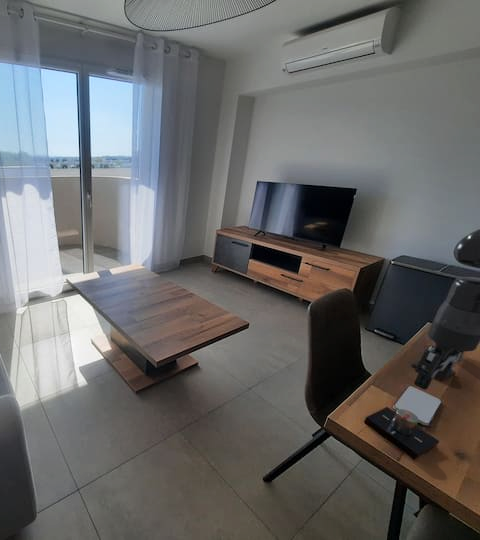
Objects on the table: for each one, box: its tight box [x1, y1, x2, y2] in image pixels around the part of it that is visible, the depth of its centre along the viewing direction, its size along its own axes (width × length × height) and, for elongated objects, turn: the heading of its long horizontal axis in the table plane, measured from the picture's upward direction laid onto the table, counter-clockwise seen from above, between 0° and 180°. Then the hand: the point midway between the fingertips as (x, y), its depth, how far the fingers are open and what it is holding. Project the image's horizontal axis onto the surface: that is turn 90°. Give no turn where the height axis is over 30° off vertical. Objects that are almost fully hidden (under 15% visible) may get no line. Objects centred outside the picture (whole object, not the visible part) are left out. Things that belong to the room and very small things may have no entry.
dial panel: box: [363, 406, 440, 461], centre depth 74 cm, size 11×9×2 cm
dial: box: [391, 409, 419, 435], centre depth 72 cm, size 4×4×5 cm
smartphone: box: [392, 385, 443, 426], centre depth 82 cm, size 7×1×15 cm
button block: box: [411, 360, 457, 382], centre depth 95 cm, size 8×8×3 cm
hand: (429, 381), depth 69 cm, fingers open, 8 cm apart
